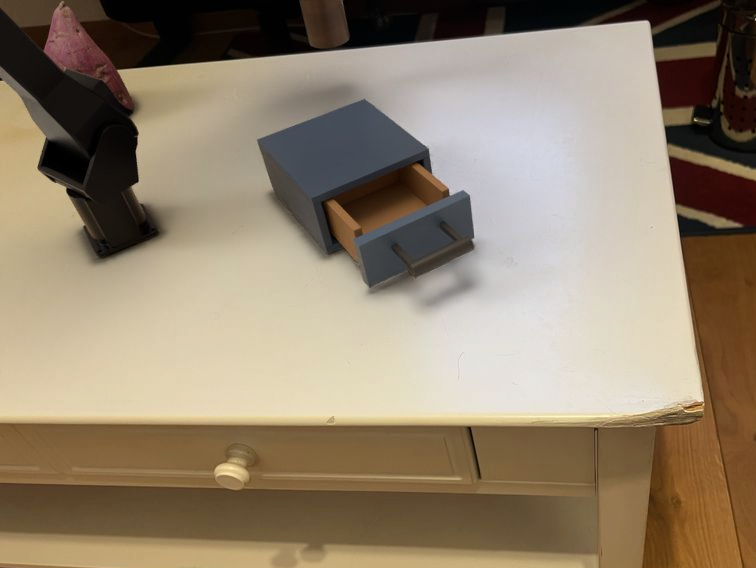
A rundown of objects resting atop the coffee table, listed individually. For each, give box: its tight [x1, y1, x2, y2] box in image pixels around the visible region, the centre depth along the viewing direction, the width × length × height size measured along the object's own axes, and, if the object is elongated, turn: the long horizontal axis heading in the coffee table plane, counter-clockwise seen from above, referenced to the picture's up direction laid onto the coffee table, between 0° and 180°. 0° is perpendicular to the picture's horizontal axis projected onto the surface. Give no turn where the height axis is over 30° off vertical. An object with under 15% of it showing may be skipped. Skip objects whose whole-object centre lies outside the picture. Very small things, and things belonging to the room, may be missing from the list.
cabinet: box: [256, 98, 434, 255], centre depth 75 cm, size 14×13×7 cm
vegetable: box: [43, 0, 135, 117], centre depth 93 cm, size 10×10×15 cm
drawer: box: [321, 162, 475, 288], centre depth 68 cm, size 17×11×5 cm
